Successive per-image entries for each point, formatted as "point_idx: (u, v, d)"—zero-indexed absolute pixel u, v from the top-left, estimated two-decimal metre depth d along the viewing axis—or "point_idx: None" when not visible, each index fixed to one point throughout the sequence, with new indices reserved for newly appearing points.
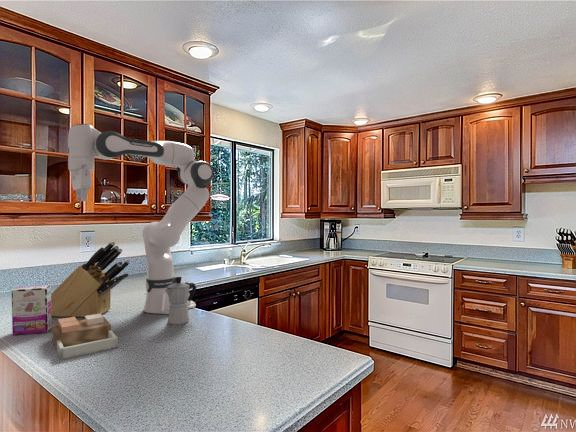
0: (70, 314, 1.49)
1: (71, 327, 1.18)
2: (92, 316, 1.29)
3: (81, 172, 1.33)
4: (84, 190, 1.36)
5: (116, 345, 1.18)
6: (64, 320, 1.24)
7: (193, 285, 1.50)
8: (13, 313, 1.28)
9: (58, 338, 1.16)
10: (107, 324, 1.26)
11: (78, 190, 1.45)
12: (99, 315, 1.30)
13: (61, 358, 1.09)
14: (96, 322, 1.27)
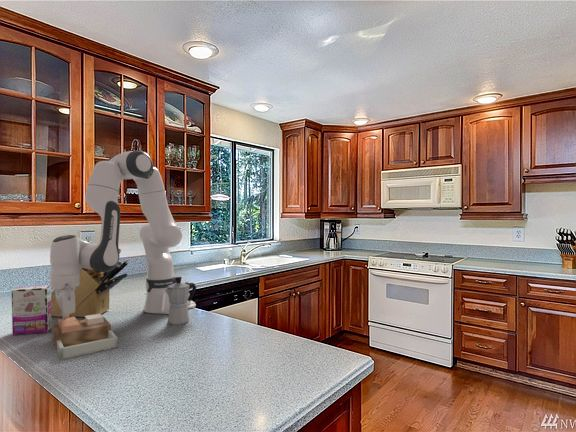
0: (69, 314, 1.49)
1: (71, 327, 1.18)
2: (92, 316, 1.29)
3: (63, 296, 1.19)
4: None
5: (116, 345, 1.18)
6: (64, 320, 1.24)
7: (193, 285, 1.50)
8: (13, 313, 1.28)
9: (58, 338, 1.16)
10: (107, 324, 1.26)
11: None
12: (99, 315, 1.30)
13: (61, 358, 1.09)
14: (96, 322, 1.27)
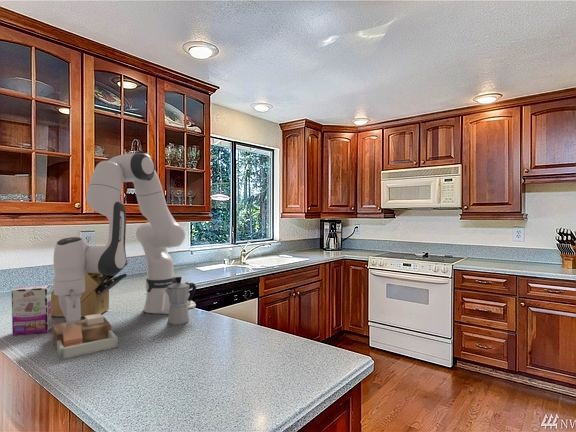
0: None
1: None
2: (92, 316, 1.29)
3: (68, 304, 1.10)
4: None
5: (116, 345, 1.18)
6: (69, 334, 1.15)
7: (193, 285, 1.50)
8: (13, 313, 1.28)
9: (58, 338, 1.16)
10: (107, 324, 1.26)
11: None
12: (99, 315, 1.30)
13: (61, 358, 1.09)
14: (96, 322, 1.27)
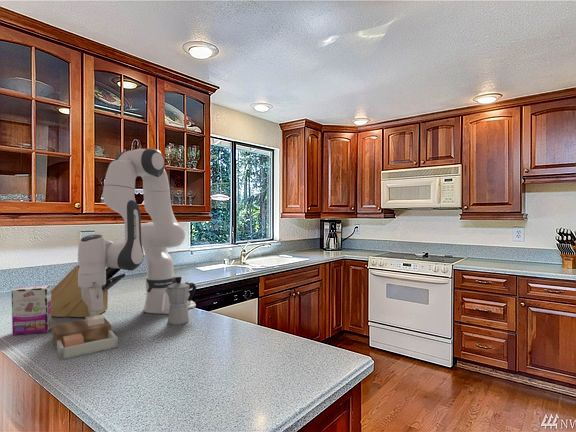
0: (67, 314, 1.49)
1: None
2: (93, 317, 1.28)
3: (92, 295, 1.22)
4: None
5: (116, 345, 1.18)
6: (70, 338, 1.14)
7: (193, 285, 1.50)
8: (13, 313, 1.28)
9: (58, 338, 1.16)
10: (107, 324, 1.26)
11: None
12: (100, 316, 1.28)
13: (61, 358, 1.09)
14: (97, 323, 1.25)
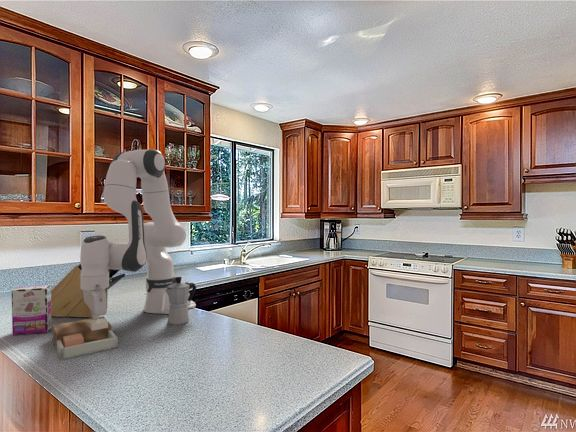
0: (66, 314, 1.49)
1: None
2: (96, 320, 1.24)
3: (95, 298, 1.18)
4: None
5: (116, 345, 1.18)
6: (70, 338, 1.14)
7: (193, 285, 1.50)
8: (13, 313, 1.28)
9: (58, 338, 1.16)
10: None
11: None
12: (103, 320, 1.24)
13: (61, 358, 1.09)
14: (100, 327, 1.21)
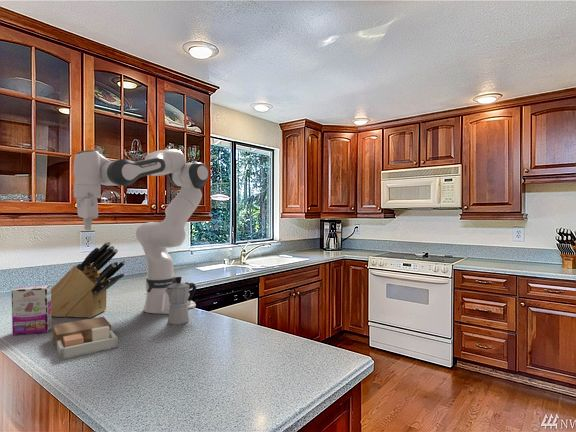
0: (65, 314, 1.49)
1: None
2: (100, 334, 1.20)
3: (87, 201, 1.28)
4: (88, 219, 1.34)
5: (116, 345, 1.18)
6: (70, 338, 1.14)
7: (193, 285, 1.50)
8: (13, 313, 1.28)
9: (58, 338, 1.16)
10: (107, 324, 1.26)
11: None
12: (106, 334, 1.21)
13: (61, 358, 1.09)
14: None
